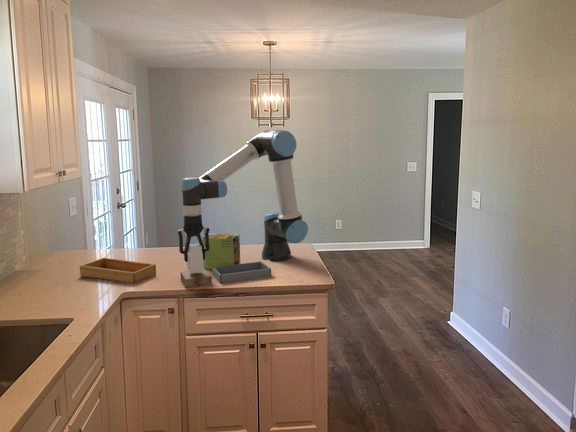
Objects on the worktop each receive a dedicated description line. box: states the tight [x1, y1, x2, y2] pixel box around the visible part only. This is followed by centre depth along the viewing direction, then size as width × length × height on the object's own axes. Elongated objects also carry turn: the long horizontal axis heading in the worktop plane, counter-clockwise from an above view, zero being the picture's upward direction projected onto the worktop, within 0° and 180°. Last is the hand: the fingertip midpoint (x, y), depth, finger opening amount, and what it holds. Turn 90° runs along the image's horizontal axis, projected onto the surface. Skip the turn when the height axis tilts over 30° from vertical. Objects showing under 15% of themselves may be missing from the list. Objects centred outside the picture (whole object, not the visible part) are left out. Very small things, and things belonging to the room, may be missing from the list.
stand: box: [180, 268, 213, 289], centre depth 209 cm, size 11×12×4 cm
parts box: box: [188, 242, 204, 273], centre depth 207 cm, size 5×6×11 cm
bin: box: [211, 261, 272, 284], centre depth 216 cm, size 23×14×4 cm, turn 112°
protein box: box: [201, 233, 242, 270], centre depth 231 cm, size 10×15×16 cm
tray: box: [79, 257, 157, 285], centre depth 221 cm, size 31×15×6 cm, turn 67°
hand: (195, 267), depth 208 cm, fingers closed on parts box, 5 cm apart
